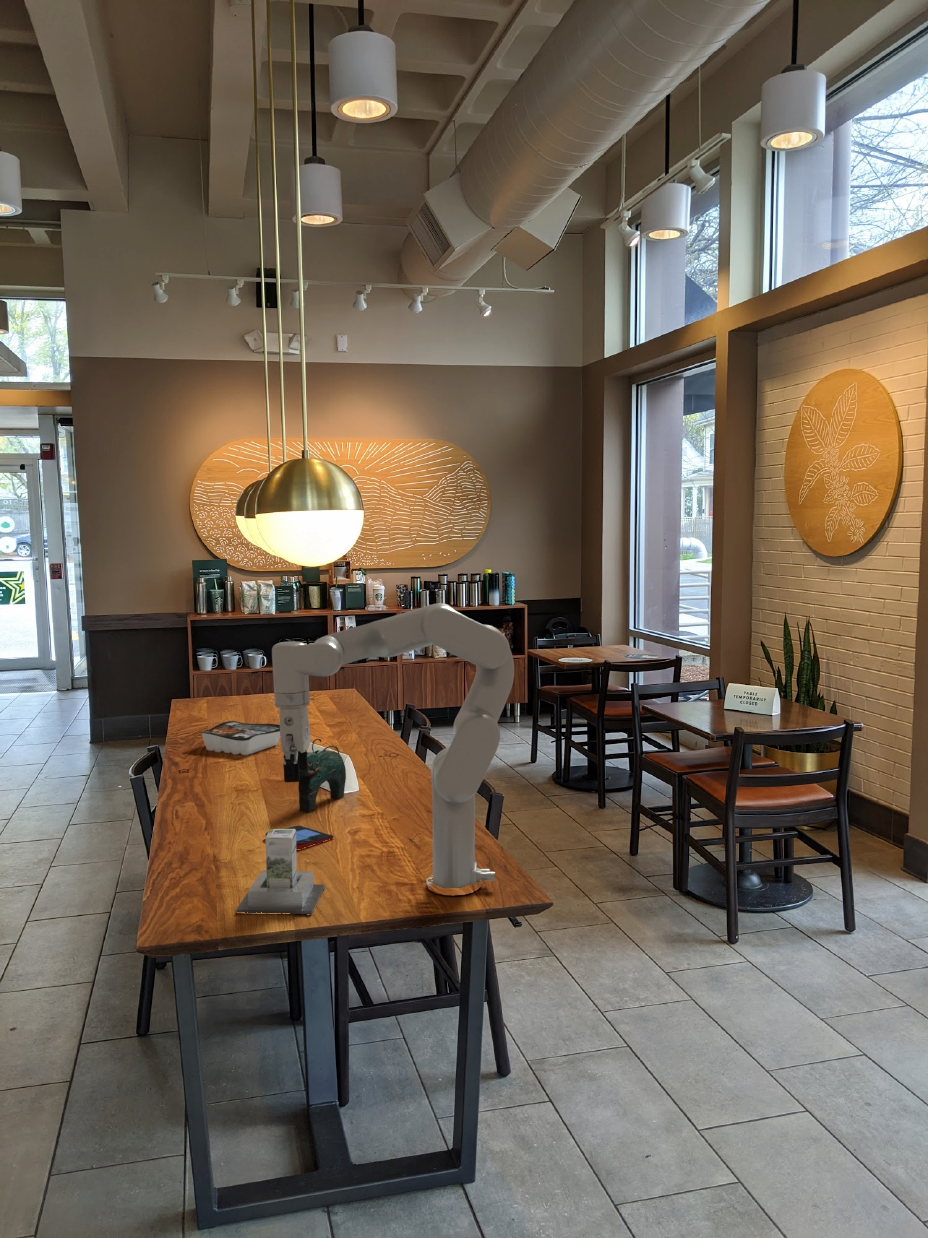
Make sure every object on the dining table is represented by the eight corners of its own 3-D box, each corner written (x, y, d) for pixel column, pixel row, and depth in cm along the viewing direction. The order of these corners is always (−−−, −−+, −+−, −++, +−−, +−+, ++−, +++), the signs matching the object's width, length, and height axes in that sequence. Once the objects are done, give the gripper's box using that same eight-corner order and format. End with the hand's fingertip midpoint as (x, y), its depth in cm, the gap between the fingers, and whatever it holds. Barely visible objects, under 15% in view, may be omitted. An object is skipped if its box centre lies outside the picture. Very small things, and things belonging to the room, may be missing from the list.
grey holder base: (324, 889, 208) (324, 869, 208) (311, 915, 194) (311, 894, 194) (253, 888, 209) (253, 868, 208) (236, 914, 195) (235, 893, 194)
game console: (335, 840, 241) (335, 832, 241) (297, 854, 231) (297, 845, 231) (299, 828, 250) (299, 820, 250) (261, 841, 241) (261, 833, 240)
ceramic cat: (308, 815, 260) (306, 745, 258) (290, 811, 264) (288, 743, 261) (350, 797, 278) (349, 731, 276) (332, 794, 281) (331, 729, 279)
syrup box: (297, 891, 204) (296, 827, 203) (293, 902, 198) (291, 836, 197) (271, 891, 204) (270, 827, 203) (266, 902, 198) (264, 836, 197)
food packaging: (193, 731, 333) (234, 719, 353) (193, 751, 334) (235, 738, 354) (248, 738, 322) (288, 725, 343) (249, 759, 323) (288, 745, 343)
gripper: (302, 706, 193) (306, 786, 194) (316, 690, 210) (319, 764, 212) (266, 707, 193) (270, 787, 194) (283, 691, 210) (287, 765, 212)
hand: (296, 775), depth 203 cm, fingers open, 9 cm apart
